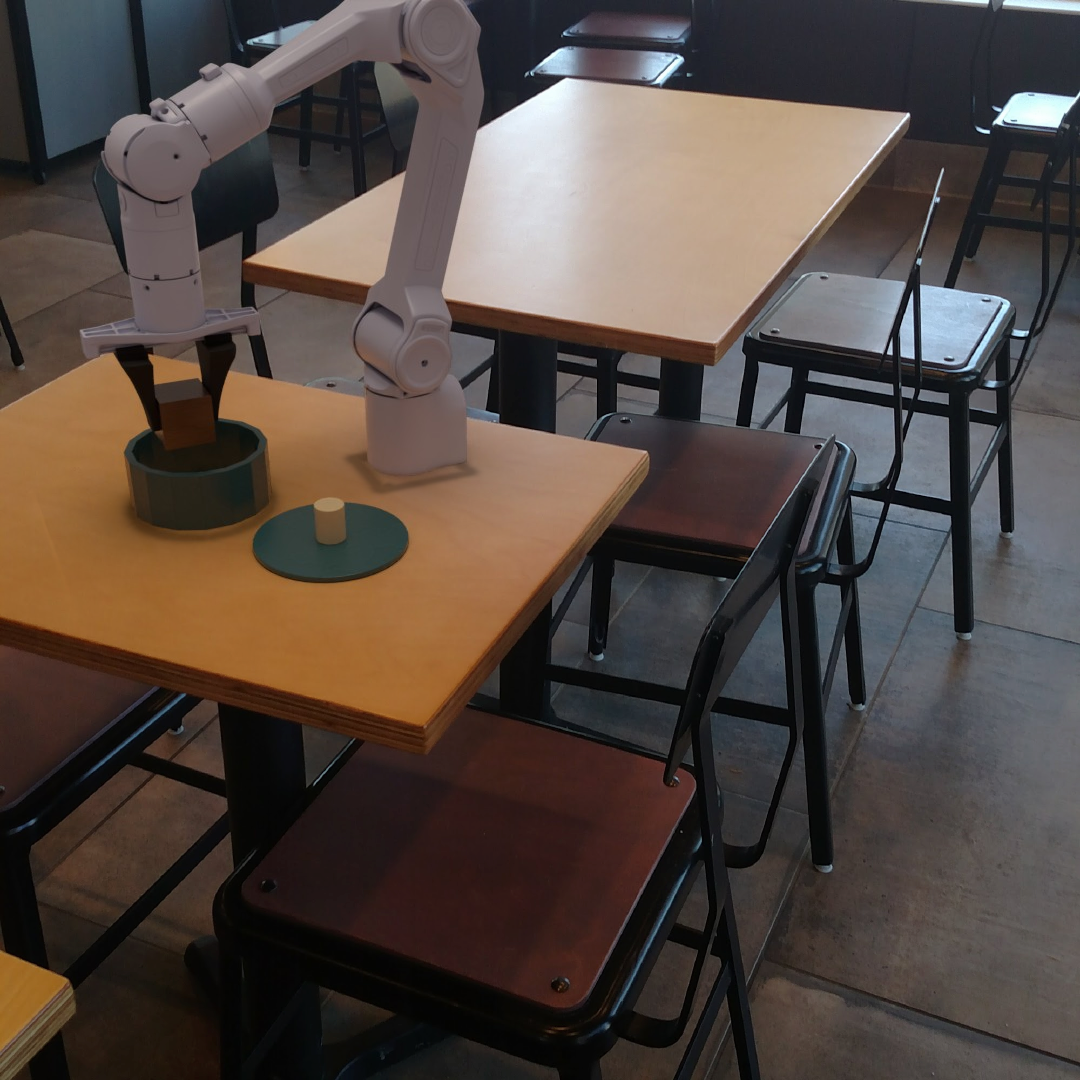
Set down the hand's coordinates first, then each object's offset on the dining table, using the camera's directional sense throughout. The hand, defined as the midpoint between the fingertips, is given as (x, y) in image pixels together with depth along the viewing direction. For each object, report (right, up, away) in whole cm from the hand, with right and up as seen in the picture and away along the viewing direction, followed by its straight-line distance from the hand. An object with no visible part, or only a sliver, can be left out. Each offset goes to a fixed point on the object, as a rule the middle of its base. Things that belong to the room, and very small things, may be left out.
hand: (183, 422), depth 109 cm
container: (0, -7, +7) cm, 10 cm away
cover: (+13, -11, 0) cm, 17 cm away
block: (0, -1, +1) cm, 1 cm away
